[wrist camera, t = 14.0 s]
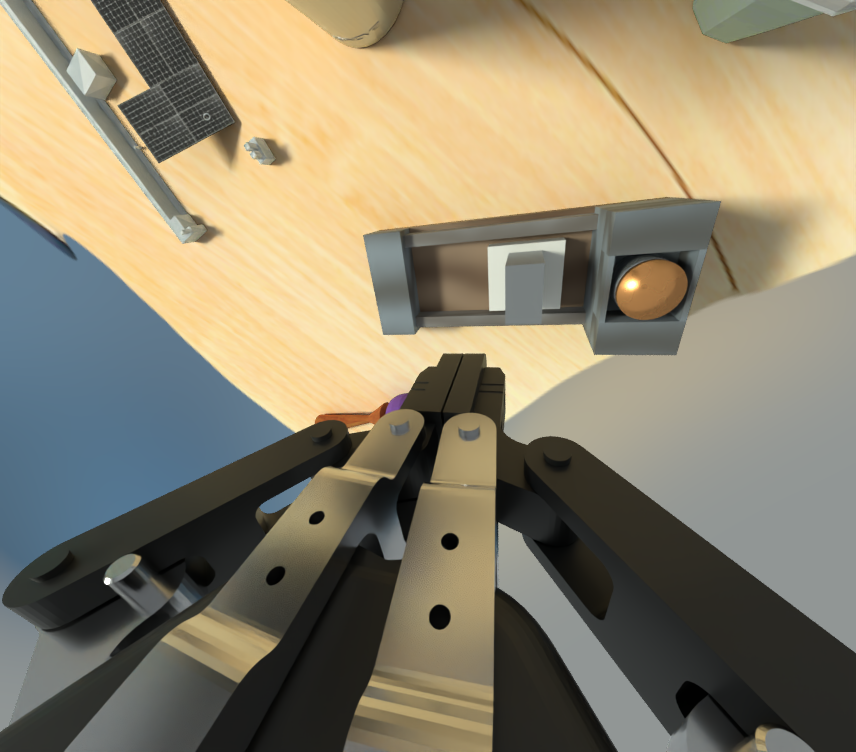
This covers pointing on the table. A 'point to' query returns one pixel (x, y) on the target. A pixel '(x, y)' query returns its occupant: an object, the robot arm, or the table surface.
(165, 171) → the table surface
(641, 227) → the grey stepped base
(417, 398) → the robot arm
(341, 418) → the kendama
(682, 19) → the table surface
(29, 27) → the paper cutter
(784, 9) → the disposable coffee cup
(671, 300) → the button
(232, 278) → the table surface
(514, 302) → the carriage
